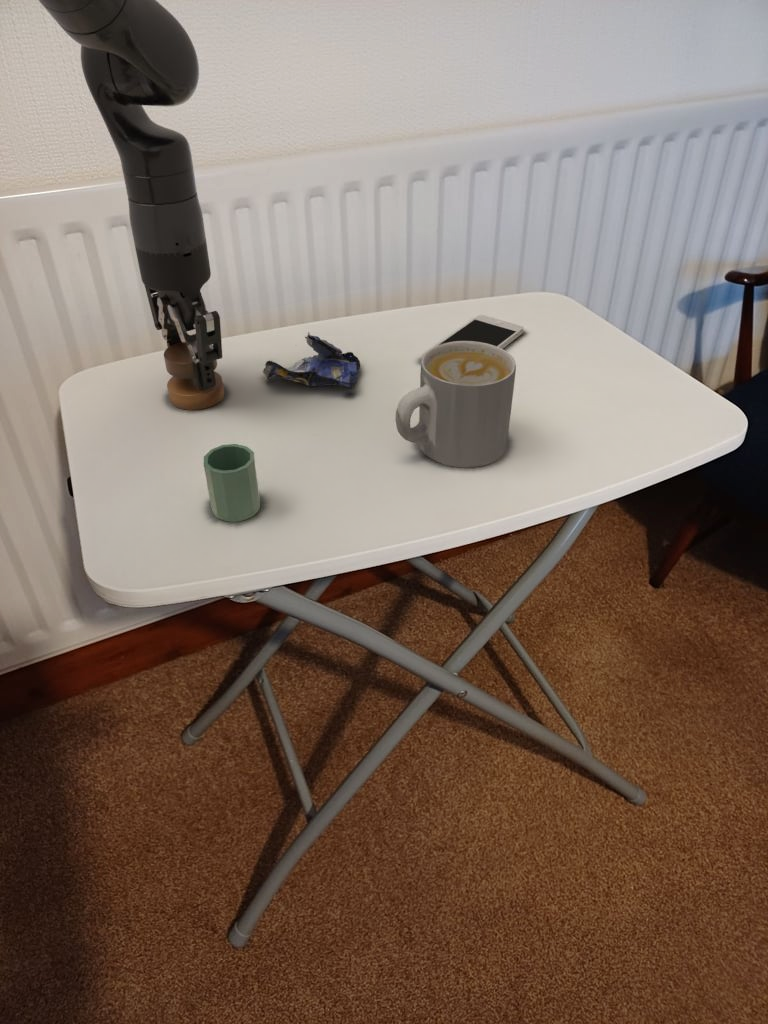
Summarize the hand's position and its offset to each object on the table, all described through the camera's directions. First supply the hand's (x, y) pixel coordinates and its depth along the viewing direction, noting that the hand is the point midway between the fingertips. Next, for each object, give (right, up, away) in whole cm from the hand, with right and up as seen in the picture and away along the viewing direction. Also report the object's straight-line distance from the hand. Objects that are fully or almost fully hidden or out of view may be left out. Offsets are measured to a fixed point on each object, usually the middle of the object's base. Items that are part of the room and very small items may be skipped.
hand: (193, 376), depth 95 cm
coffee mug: (+30, -9, -7) cm, 32 cm away
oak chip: (0, -2, +2) cm, 3 cm away
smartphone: (+35, +6, +12) cm, 38 cm away
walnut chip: (0, +1, -1) cm, 1 cm away
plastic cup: (+8, -16, -15) cm, 23 cm away
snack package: (+14, 0, +5) cm, 15 cm away
